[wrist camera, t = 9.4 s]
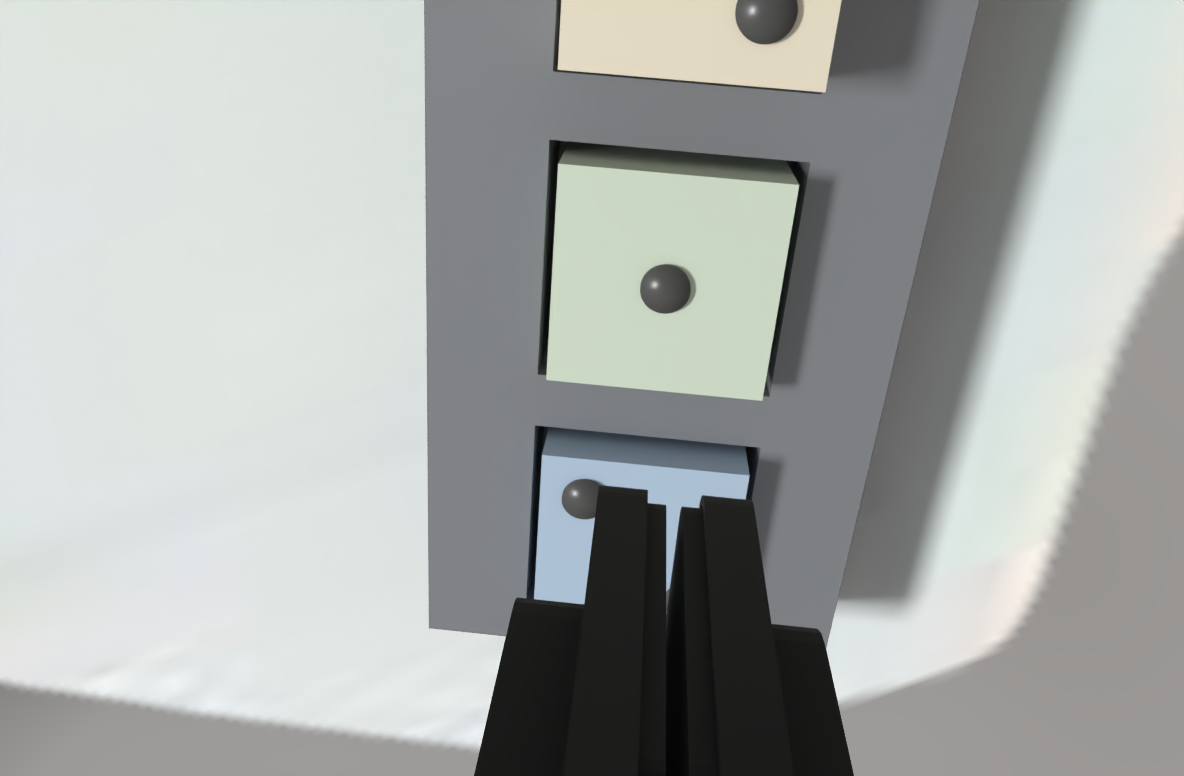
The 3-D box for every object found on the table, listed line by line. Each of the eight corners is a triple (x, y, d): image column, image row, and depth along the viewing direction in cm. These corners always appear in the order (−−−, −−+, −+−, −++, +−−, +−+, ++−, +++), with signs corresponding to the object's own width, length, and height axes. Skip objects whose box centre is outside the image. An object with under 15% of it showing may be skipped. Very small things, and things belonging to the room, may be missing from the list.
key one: (571, 136, 22) (557, 164, 19) (783, 154, 22) (800, 186, 19) (559, 330, 24) (545, 381, 21) (751, 349, 24) (762, 403, 21)
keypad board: (456, -303, 19) (421, -343, 16) (995, -265, 19) (1049, -299, 16) (451, 563, 29) (428, 628, 26) (806, 600, 28) (820, 669, 26)
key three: (555, 399, 25) (541, 457, 22) (740, 417, 25) (750, 478, 22) (546, 551, 27) (532, 621, 24) (716, 568, 27) (722, 640, 24)
